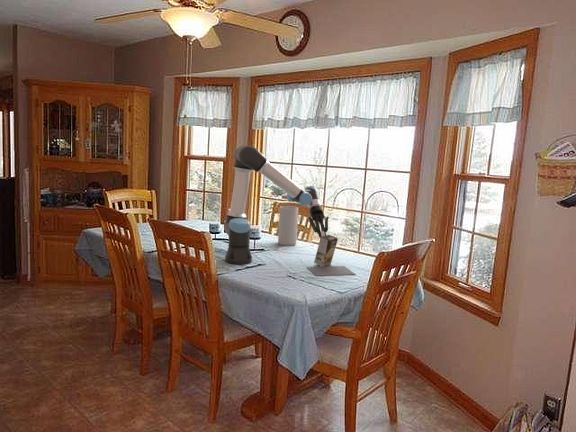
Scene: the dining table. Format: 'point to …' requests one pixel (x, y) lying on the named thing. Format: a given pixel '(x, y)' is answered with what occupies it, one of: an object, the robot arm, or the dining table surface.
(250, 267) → the dining table surface
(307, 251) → the dining table surface
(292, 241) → the cylinder vase
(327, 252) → the coffee box
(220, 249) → the dining table surface
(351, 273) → the mat
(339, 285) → the dining table surface
